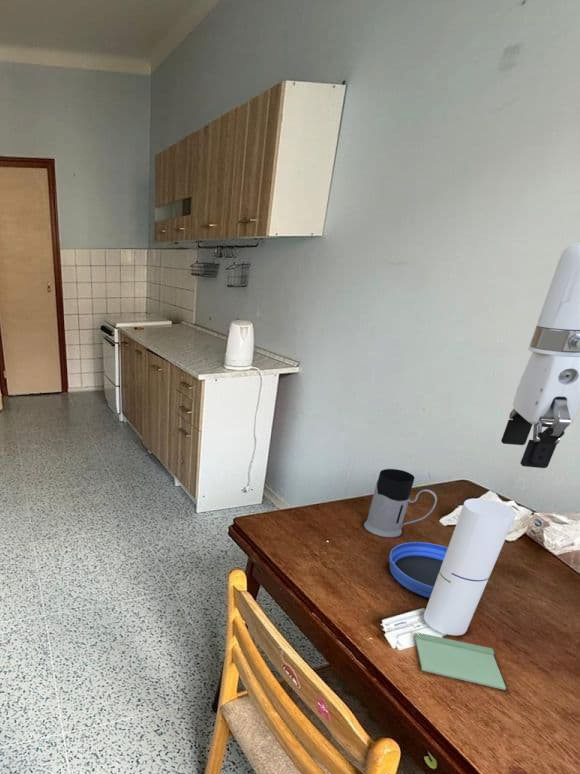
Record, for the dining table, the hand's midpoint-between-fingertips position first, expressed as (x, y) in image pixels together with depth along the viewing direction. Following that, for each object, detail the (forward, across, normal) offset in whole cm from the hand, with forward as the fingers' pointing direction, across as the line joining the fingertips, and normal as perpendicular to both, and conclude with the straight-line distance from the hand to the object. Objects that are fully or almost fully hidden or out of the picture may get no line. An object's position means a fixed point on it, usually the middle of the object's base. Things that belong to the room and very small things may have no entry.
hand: (522, 454), depth 74 cm
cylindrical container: (+35, 0, +2) cm, 35 cm away
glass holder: (+35, +32, +8) cm, 48 cm away
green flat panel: (+35, -11, +2) cm, 36 cm away
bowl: (+35, +14, +2) cm, 38 cm away
